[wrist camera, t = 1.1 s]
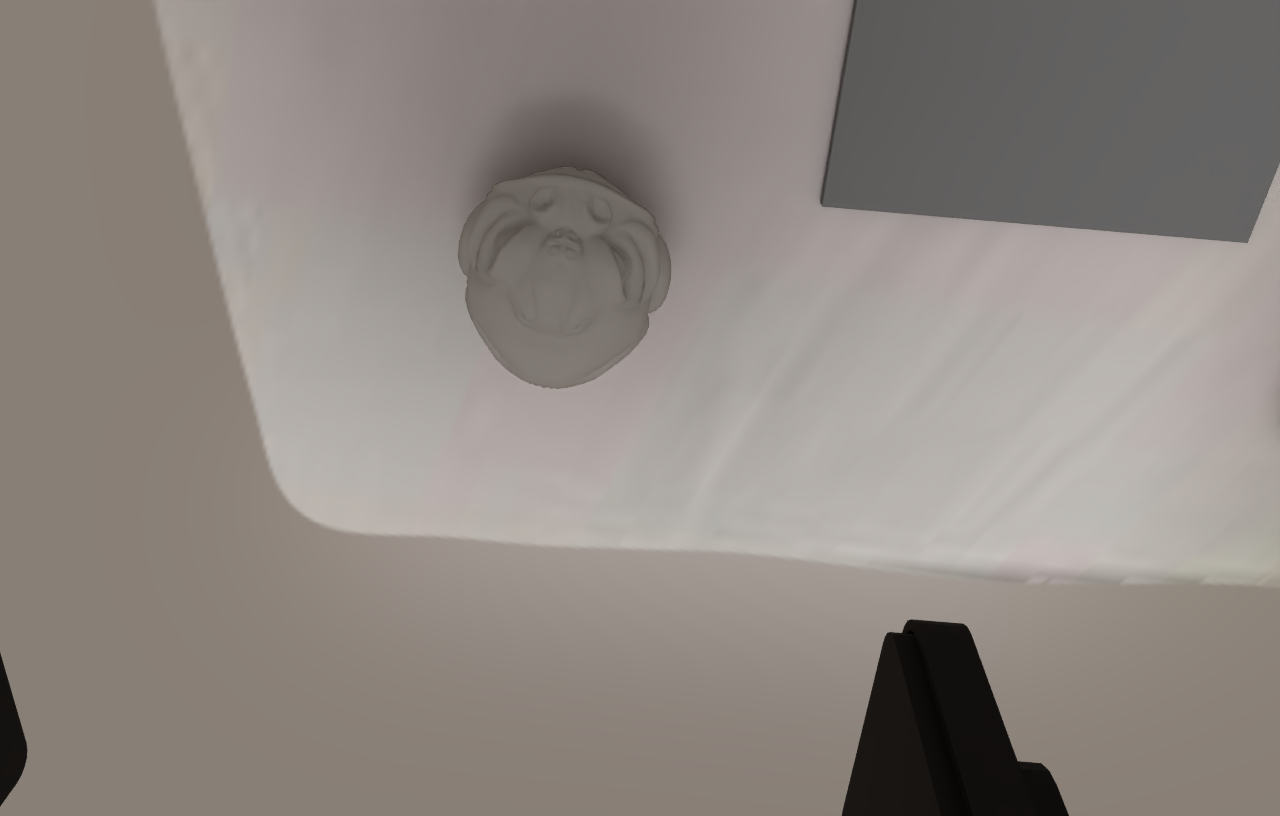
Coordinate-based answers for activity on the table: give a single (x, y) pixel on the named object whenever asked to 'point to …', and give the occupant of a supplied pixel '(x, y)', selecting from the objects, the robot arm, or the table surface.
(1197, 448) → the table surface
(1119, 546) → the table surface
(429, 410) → the table surface
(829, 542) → the table surface
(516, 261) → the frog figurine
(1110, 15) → the slate mat
